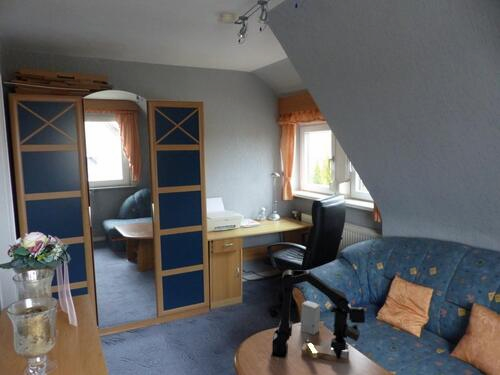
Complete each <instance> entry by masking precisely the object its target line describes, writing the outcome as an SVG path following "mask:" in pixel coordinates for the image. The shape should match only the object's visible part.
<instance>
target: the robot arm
mask: <svg viewBox="0 0 500 375" xmlns="http://www.w3.org/2000/svg"><path fill="white" fill-rule="evenodd" d="M305 282H307V283H308V284H310V285H311V286H312V287H314V288H315V289H317V290H318V291H319V292H320V293H322V294H323V295H325V296H326V297H327V298H328V299H329V300H330V301H331V303H332V304H333V305H332V306H331V307H329V311H330V313H334V315H333V318H334V319H333V326H332V327H333V334H332V335H333V336H334V337H333V338H331V341H330V344H331V348H333V350H334V352H335V354H336V356H337V359H340V356H341V353H342V350H346V344H347V341H346V340H345V339H348V338H349V339H352V340H353V341H355V342H357V341H359V340H358V339H359V338H360V335H361V334H360V333H361V331H360V329H359V327H358V325H357V324H365V323H366V317H365V308H364V307H363V306H360V307H356V306H352V304H351V303H350V302H349V300H348V296H347V294H346V293H345V292H344V291H341V290H339V289H336V288H334V287H331V286H330V285H329V284H328V283H326V282H325V281H323V280H322V279H320V278H319V277H318V276H316V275H315V274H314V273H313V272H311V270H308V269H306V270H304V269H303V270H299V269H295V270H291V269H287V270H284V271H283V273H282V276H281V284H282V290H283V293H282V303H281V316H280V321H279V324H278V328H277V329H276V330H275V331H274V332H273V336H272V342H271V343H272V344H271V345H272V347H271V349H272V350H271V354H270V356H272V357H278V358H281V359H282V358H283V359H285V358H286V356H287V355H288V352H289V344H288V341H289V339H290V338H291V337H292V336H293V335H292V334H293V324H294V323H293V321H291V320H290V313H291V312H290V311H291V301H292V292H293V289H294V286H295V285H298V284H302V283H305ZM348 321H350V322H351V323H353V325H349V322H348Z"/></svg>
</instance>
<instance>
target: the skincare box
mask: <svg viewBox="0 0 500 375" xmlns="http://www.w3.org/2000/svg"><path fill="white" fill-rule="evenodd" d="M321 306H322V305H321V304H319V303H316V302H314V301H312V300H311V301H310V300H306V301H304V302H302V303H301V316H300V318H301V319H300V331H303V332H304V333H308V334H310V335H313V336H314V335H315V334H316V333H318V332H319V331H320V318H321Z"/></svg>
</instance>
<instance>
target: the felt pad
mask: <svg viewBox="0 0 500 375" xmlns="http://www.w3.org/2000/svg"><path fill="white" fill-rule="evenodd" d="M319 346H322V347H328V348H331V342H322V341H320V344H319Z"/></svg>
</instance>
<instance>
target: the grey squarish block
mask: <svg viewBox="0 0 500 375" xmlns="http://www.w3.org/2000/svg"><path fill="white" fill-rule="evenodd" d="M348 351H349V344H348V343H346V350H342V353H341V356H340V357H344V358H347V355H348ZM331 355H333V356H336V354H335V352H334V350H333V348H331Z"/></svg>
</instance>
